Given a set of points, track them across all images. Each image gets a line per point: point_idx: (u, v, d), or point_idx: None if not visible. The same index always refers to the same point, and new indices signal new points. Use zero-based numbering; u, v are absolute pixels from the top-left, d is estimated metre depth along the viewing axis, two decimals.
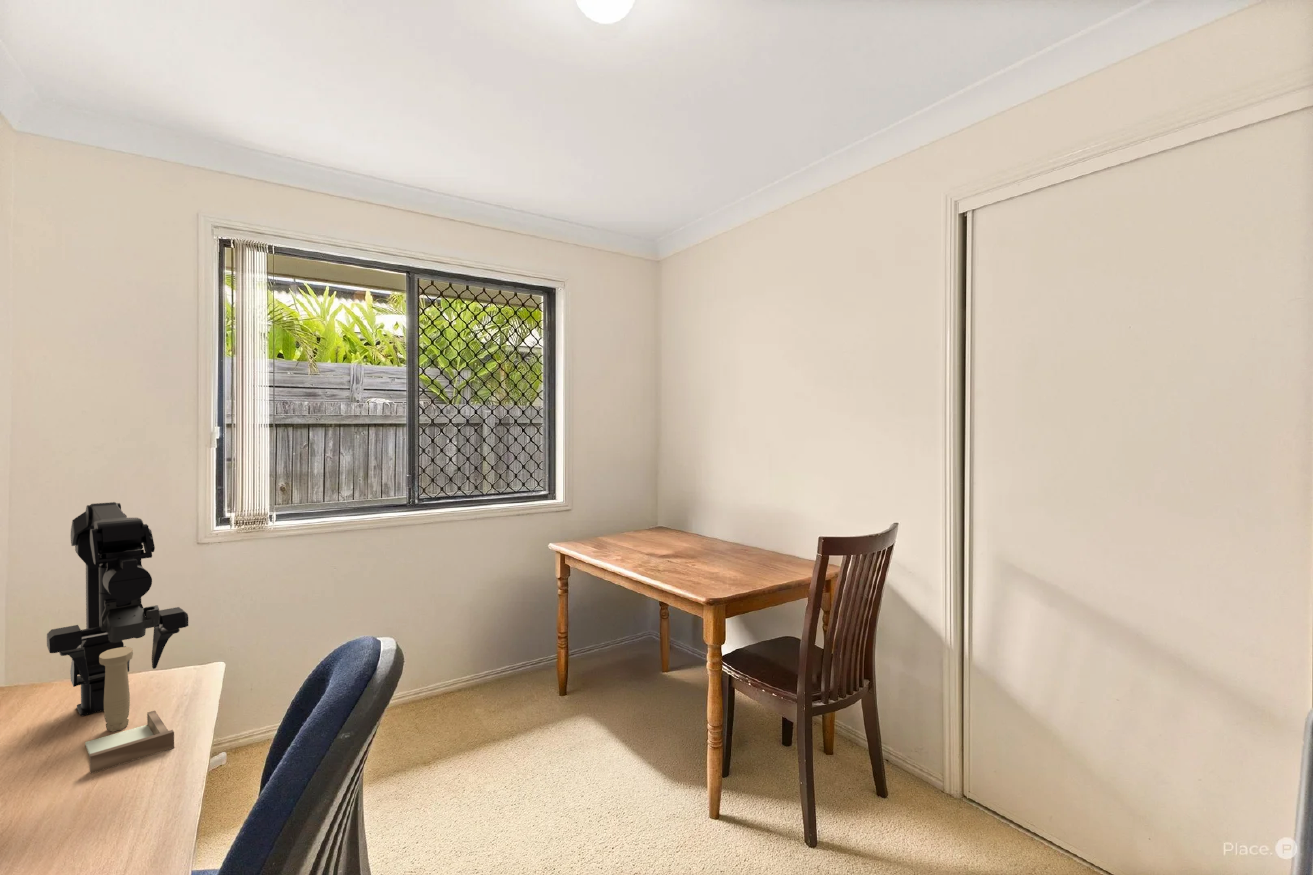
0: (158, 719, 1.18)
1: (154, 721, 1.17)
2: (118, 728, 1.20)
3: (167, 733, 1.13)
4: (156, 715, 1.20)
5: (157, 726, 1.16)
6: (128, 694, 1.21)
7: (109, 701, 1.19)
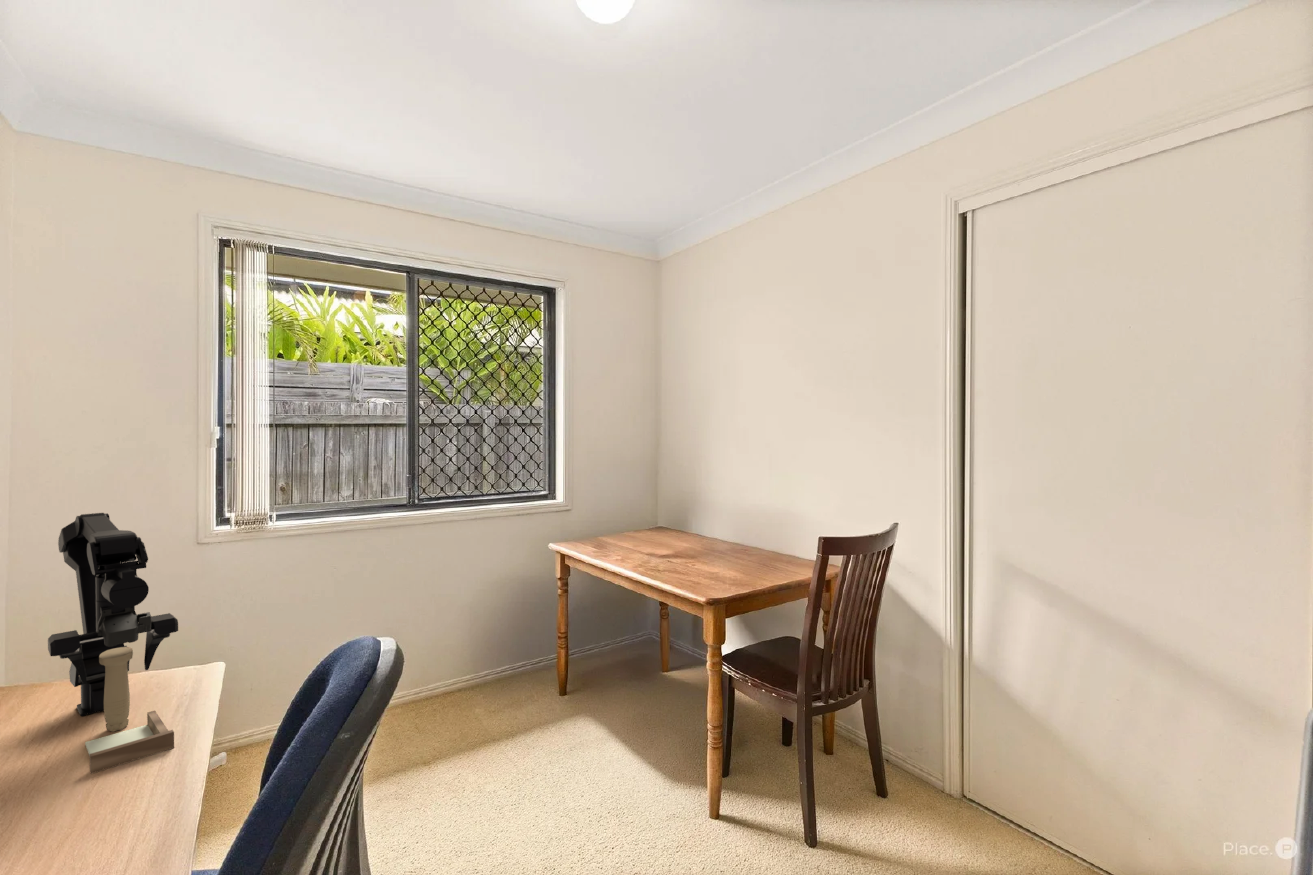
0: (158, 719, 1.18)
1: (154, 721, 1.17)
2: (118, 728, 1.20)
3: (167, 733, 1.13)
4: (156, 715, 1.20)
5: (157, 726, 1.16)
6: (128, 694, 1.21)
7: (109, 701, 1.19)
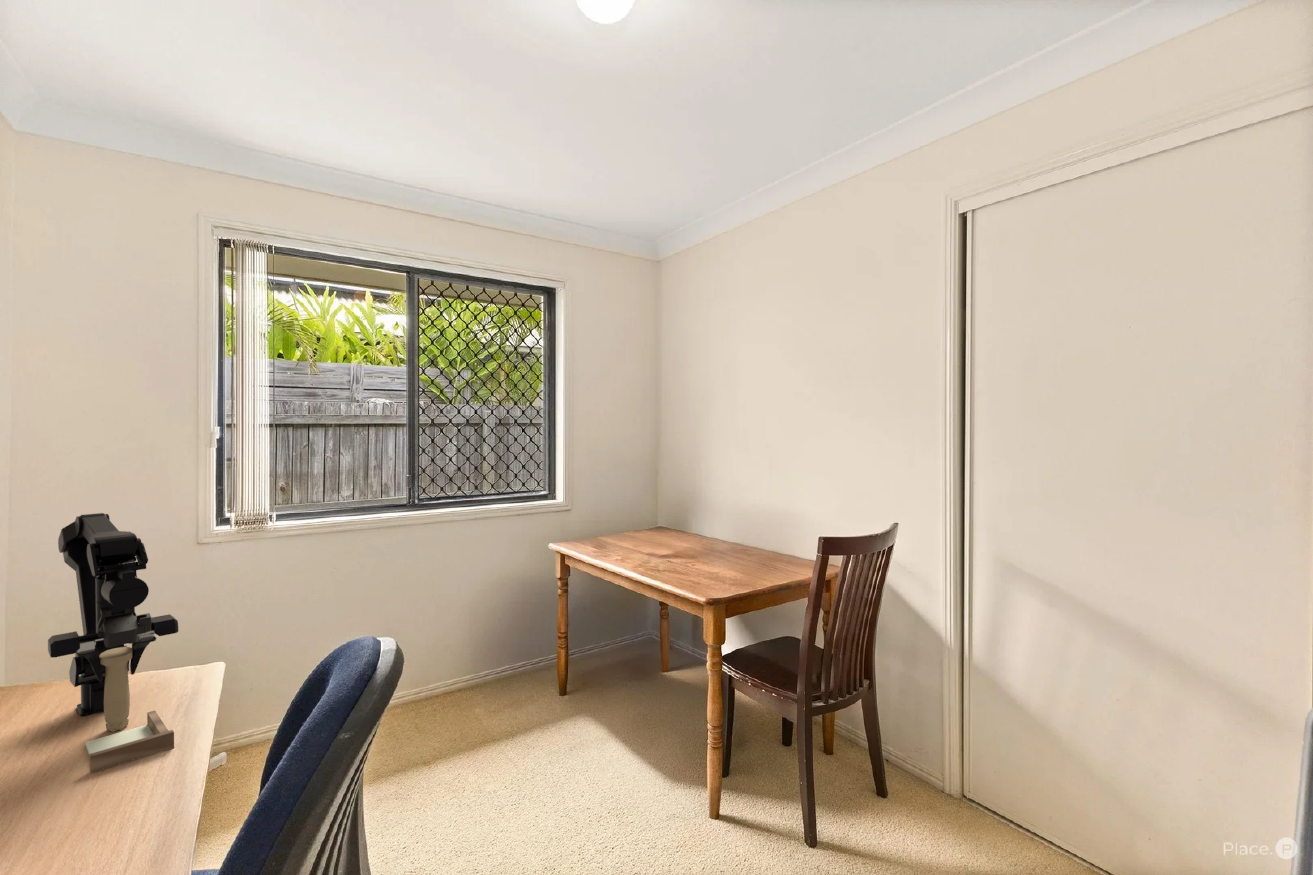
0: (158, 719, 1.18)
1: (154, 721, 1.17)
2: (118, 728, 1.20)
3: (167, 733, 1.13)
4: (156, 715, 1.20)
5: (157, 726, 1.16)
6: (128, 694, 1.21)
7: (109, 701, 1.19)
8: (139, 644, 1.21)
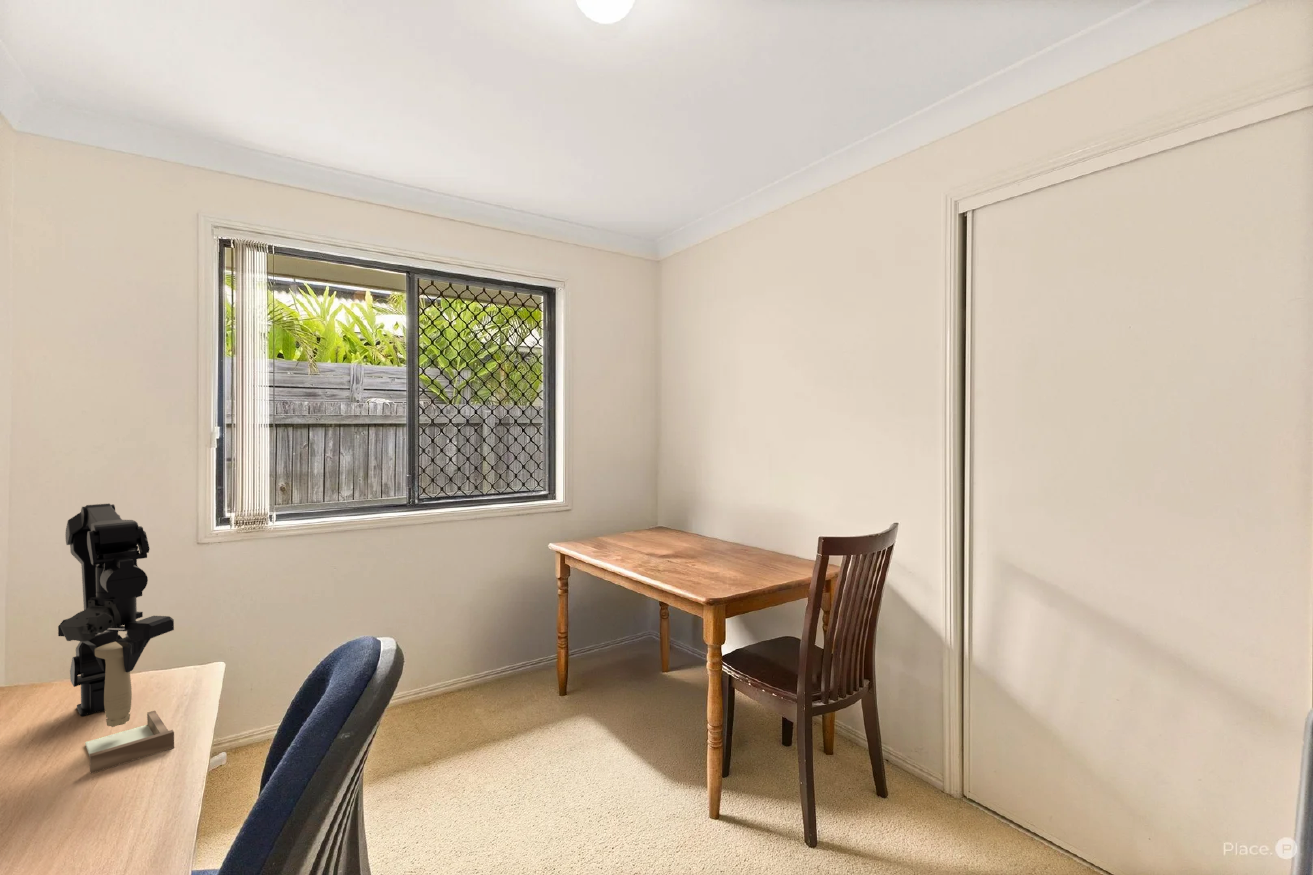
0: (158, 719, 1.18)
1: (154, 721, 1.17)
2: (110, 724, 1.15)
3: (167, 733, 1.13)
4: (156, 715, 1.20)
5: (157, 726, 1.16)
6: (120, 692, 1.15)
7: (104, 694, 1.15)
8: (118, 643, 1.13)
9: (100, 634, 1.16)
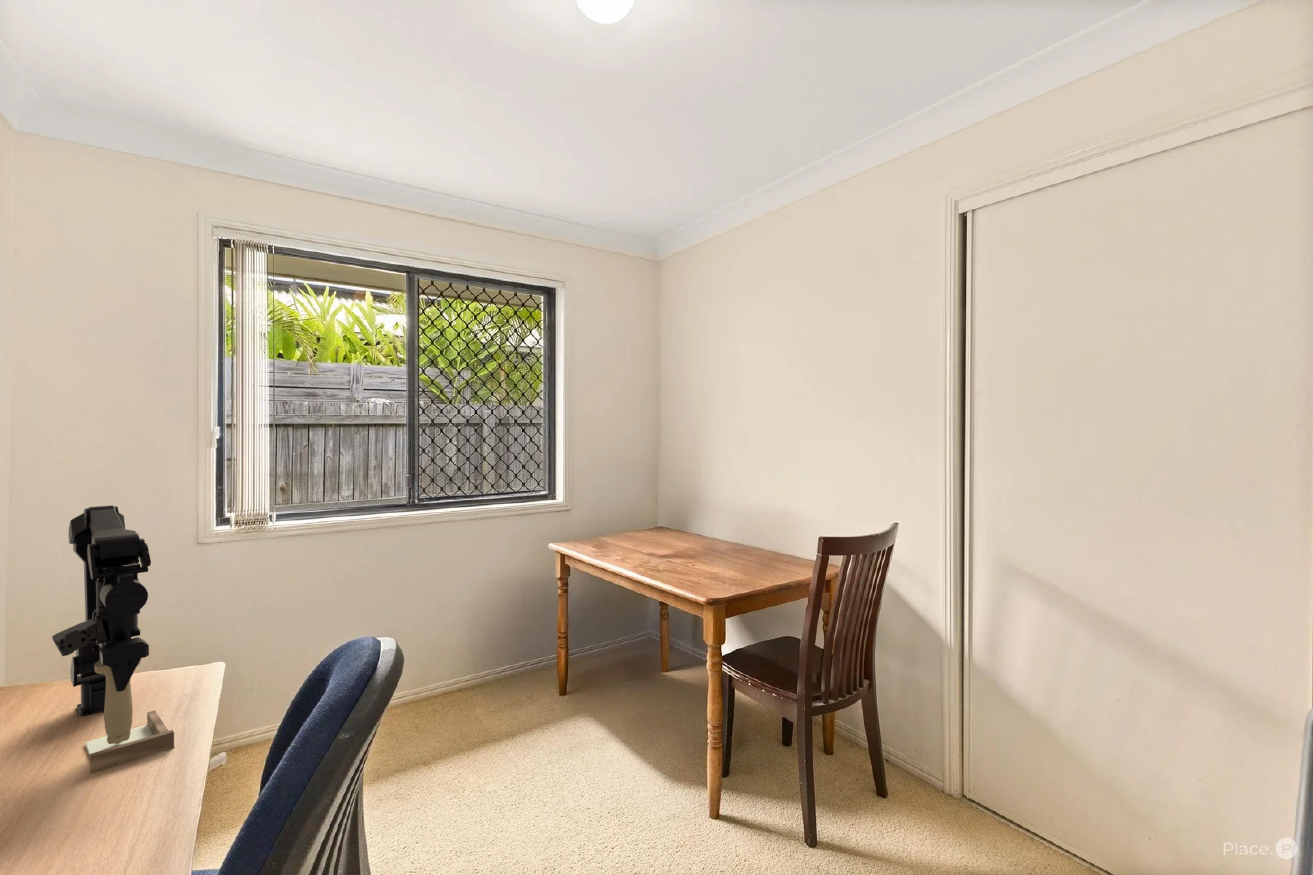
0: (158, 719, 1.18)
1: (154, 721, 1.17)
2: None
3: (167, 733, 1.13)
4: (156, 715, 1.20)
5: (157, 726, 1.16)
6: (113, 710, 1.11)
7: None
8: None
9: None
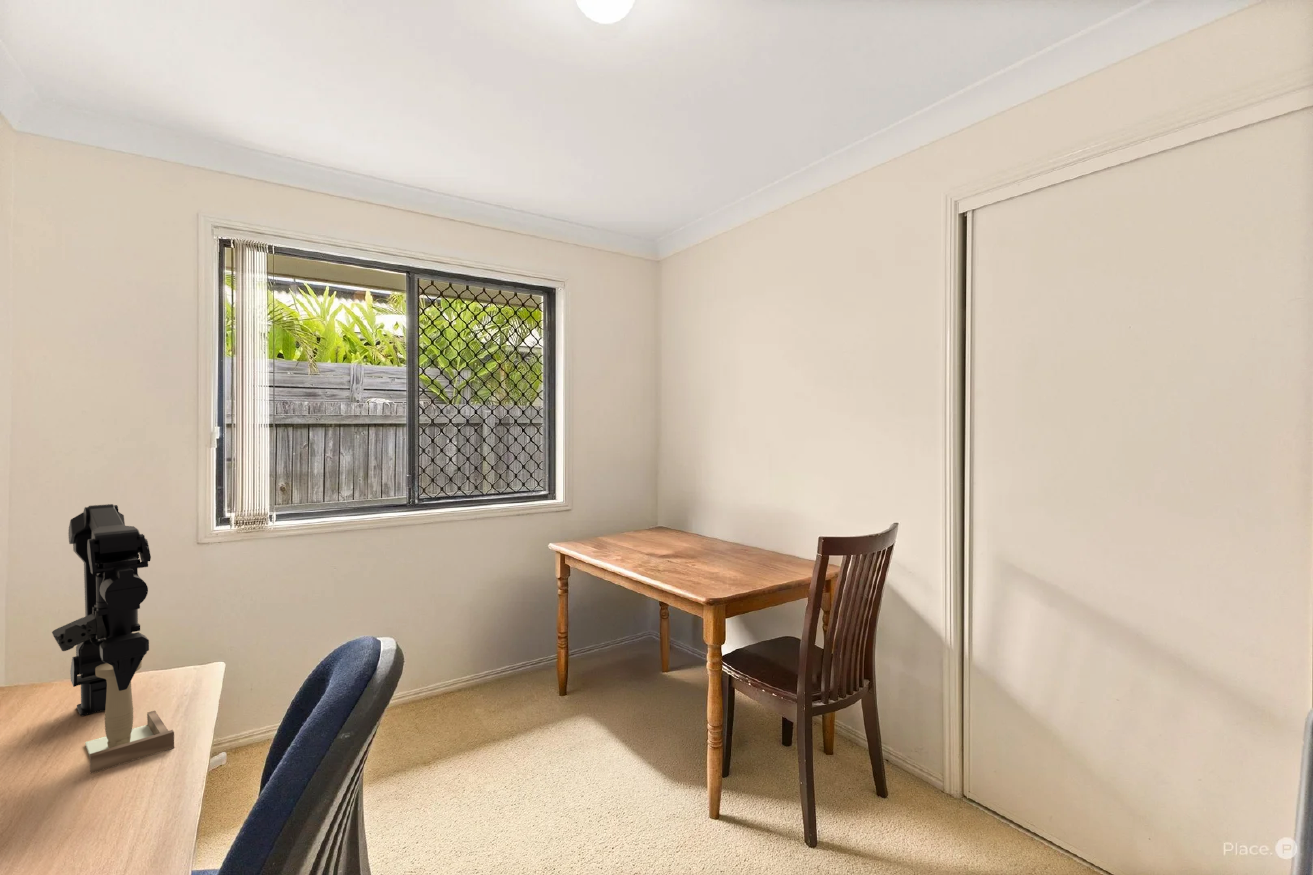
0: (158, 719, 1.18)
1: (154, 721, 1.17)
2: None
3: (167, 733, 1.13)
4: (156, 715, 1.20)
5: (157, 726, 1.16)
6: (113, 714, 1.11)
7: None
8: None
9: None
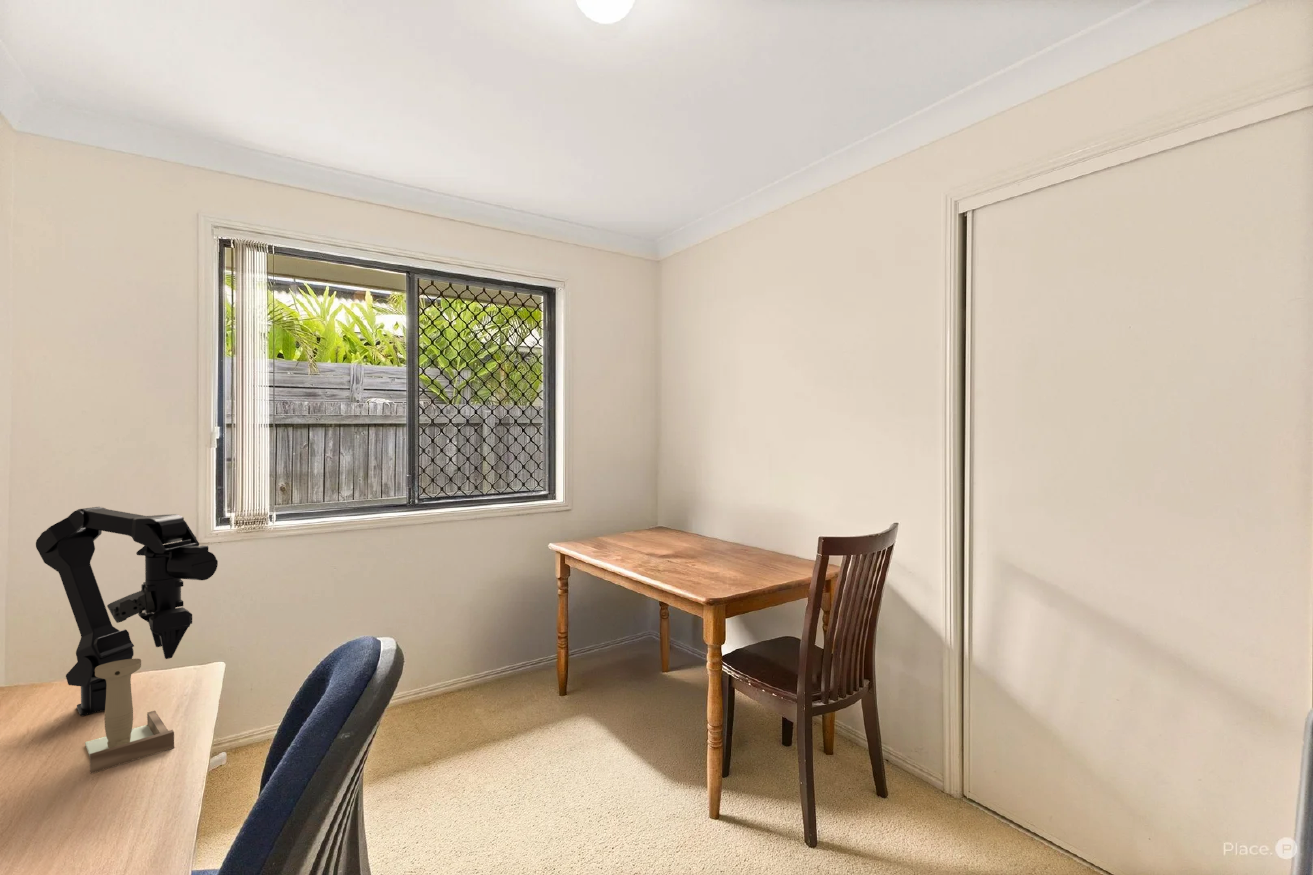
0: (158, 719, 1.18)
1: (154, 721, 1.17)
2: None
3: (167, 733, 1.13)
4: (156, 715, 1.20)
5: (157, 726, 1.16)
6: (113, 714, 1.11)
7: None
8: None
9: None
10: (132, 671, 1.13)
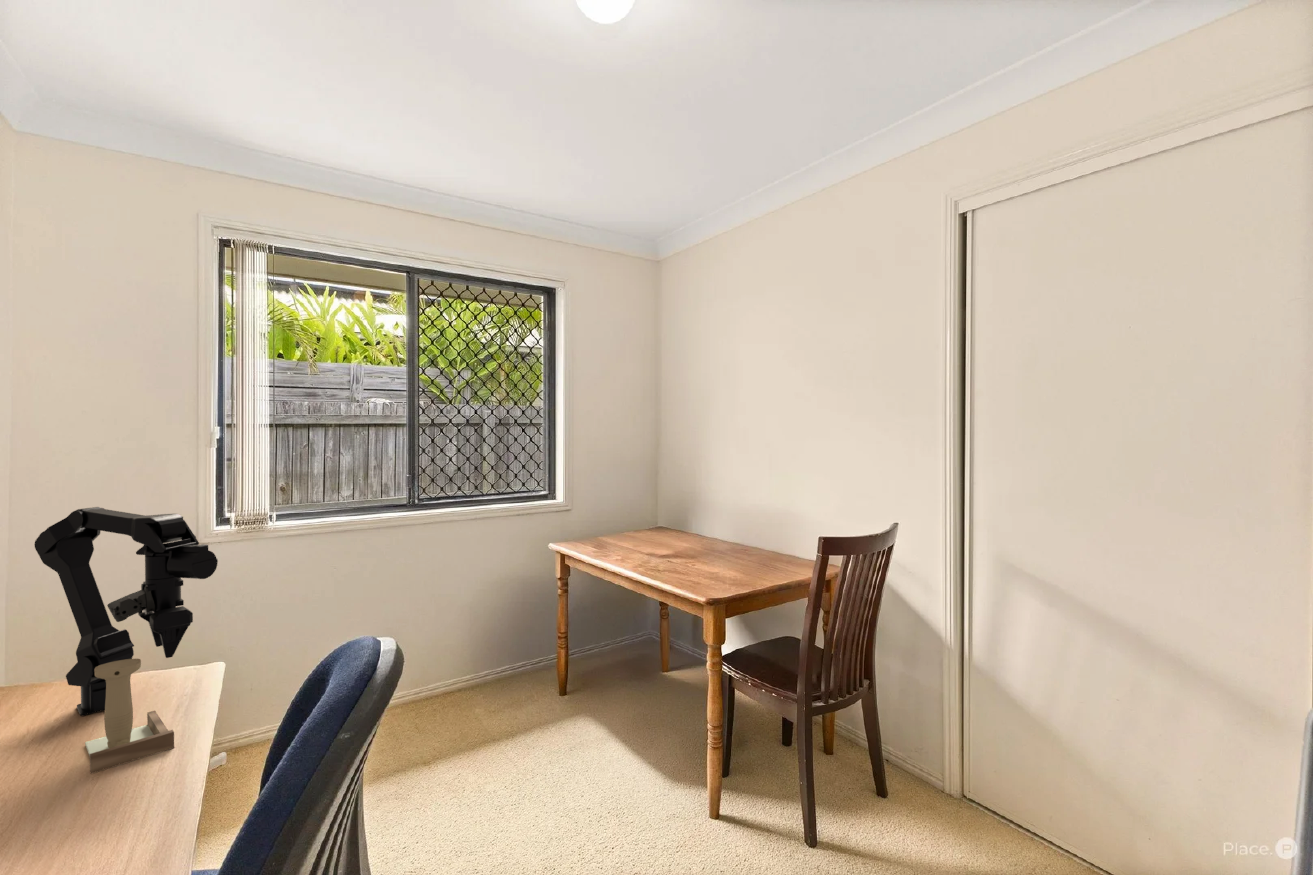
0: (158, 719, 1.18)
1: (154, 721, 1.17)
2: None
3: (167, 733, 1.13)
4: (156, 715, 1.20)
5: (157, 726, 1.16)
6: (113, 715, 1.11)
7: None
8: None
9: None
10: (132, 671, 1.13)
